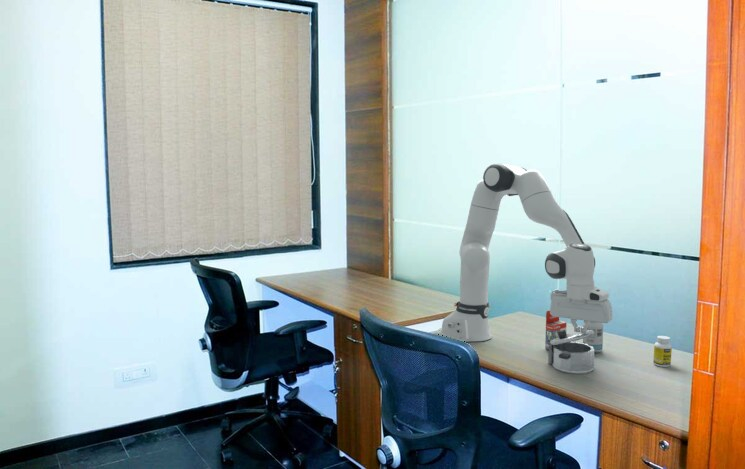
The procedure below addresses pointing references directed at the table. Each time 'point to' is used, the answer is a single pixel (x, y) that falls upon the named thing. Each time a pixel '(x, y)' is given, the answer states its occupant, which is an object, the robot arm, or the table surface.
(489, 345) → the table surface
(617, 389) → the table surface
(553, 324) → the ink box
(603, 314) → the robot arm
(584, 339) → the beverage can
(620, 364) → the table surface
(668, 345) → the supplement bottle
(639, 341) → the table surface
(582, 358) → the pot
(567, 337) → the lid
